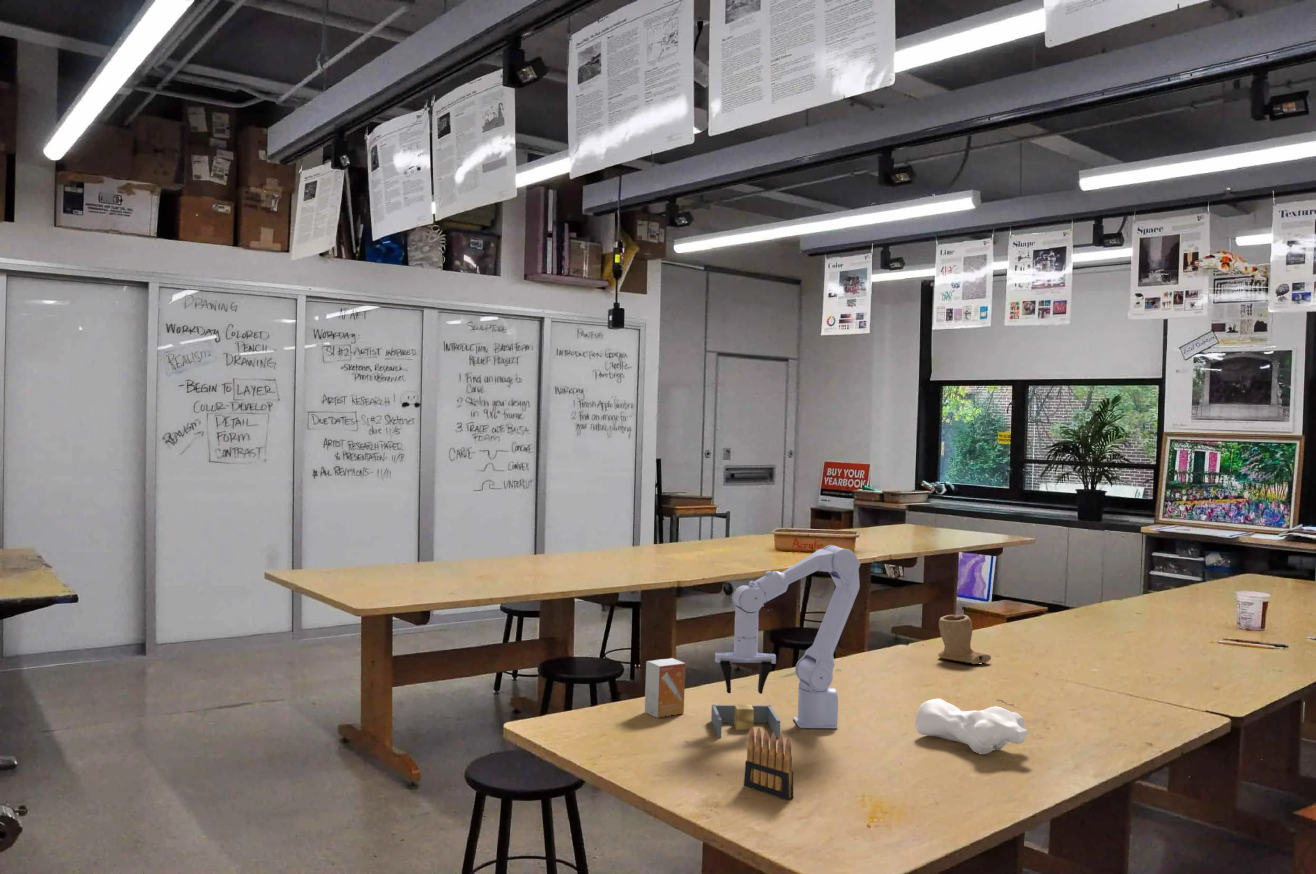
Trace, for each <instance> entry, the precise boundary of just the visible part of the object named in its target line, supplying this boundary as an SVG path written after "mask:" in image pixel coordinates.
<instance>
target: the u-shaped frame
mask: <svg viewBox="0 0 1316 874" xmlns="http://www.w3.org/2000/svg"><path fill="white" fill-rule="evenodd" d="M751 705H752V707H753V709H754V720H753V723H767V724H768V726H769V728H770V729H771V731H772V733H773V732H774V733H775V737H776V738H777V739H779V736H780V734H781V720H780V718H779V716H778V715H777V713H776V712H775V710H774V708H773V707H772V705H770V704H769V705H766V704H763V705H762V704H751ZM734 718H735V704H711V720H710V721H711V725H712V727H713V728H714V731H715V733H716V737H717V736H718V737H717V738H722V728H723V727H722V726H723V725H722V724H723V723H734Z"/></svg>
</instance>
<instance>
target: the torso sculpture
mask: <svg viewBox="0 0 1316 874" xmlns="http://www.w3.org/2000/svg"><path fill="white" fill-rule="evenodd" d="M915 718H916V719H915V724H914V725H915V730H916V731H917V733H918V734H919V735H923V736H930V737H937V738H939V737H940V739H945V740H949V741H953V742H957V743H961V744H962V743H963V744H966V745H968V746H969V747H970V749H971V750H972V752H974V753H975V752H976V753H975V754H977V753H981V754H985V755H988V754H989V753H991V752H992V751H995V750H997V751H1000V750H1001V749H1003V748H1004V747H1006V745H1008V743H1011V744H1014V745H1015V744H1016V745H1019V744H1022V743H1024V742H1025V740H1026V738H1027V736H1028V733H1029V732H1028V729H1025V728H1024V727H1025V719H1024V718H1023V716H1021V714H1019V713H1017V712H1012V711H1009V710H1008V709H1005V708H1003V707H1001V706H996V705H995V706H990V707H987V708H985V709H982V710H967V711H963V710H961V709H960V708H959V707H958V706H956V705H954V704H952V703H949V702H947V701H945V700H944V699H942V698H933V699H929V700H926V701H924V702H923V703H921V704H920V706H919V708H918V710H917V713H916V716H915ZM993 749H995V750H993Z"/></svg>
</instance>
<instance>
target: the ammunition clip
mask: <svg viewBox="0 0 1316 874" xmlns="http://www.w3.org/2000/svg"><path fill="white" fill-rule="evenodd" d="M755 734H756V736H755ZM777 739H778V740H777ZM777 739H776V736H775V733H774V732H773V731H772V732H771V736H770V739H769V733H768V730H767V729H766V730H764V733H763V737H762V731H761V729H760V727H758V728H757V731H756V733H755V730H754V725H753V726H751V728H750V730H749V733H748V741H747V747H746V760H745V763H744V764H745V766H744V781H743V786H744V787H746V786H747V787H746V788H749V787H750V789H752V790H756V791H759V792H762V793H765V794H768V795H771V796H775V797H778V798H780V799H783V800H787V801H789V800H791V799H793V798H794V771H793V756H792V741H791V738H790V736H789V735H788V736H787V737H786V742H785V743H784V737H783V734H781V733H780V736H779V738H777ZM784 745H785V747H784Z"/></svg>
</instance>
